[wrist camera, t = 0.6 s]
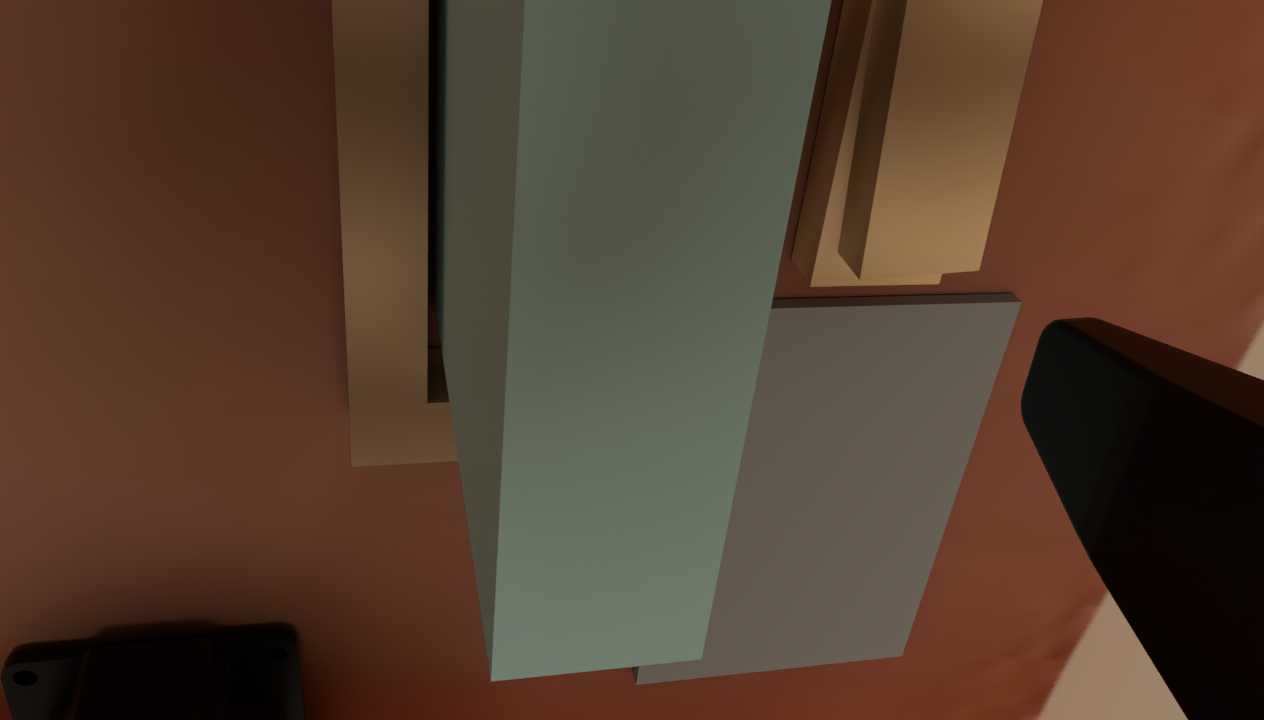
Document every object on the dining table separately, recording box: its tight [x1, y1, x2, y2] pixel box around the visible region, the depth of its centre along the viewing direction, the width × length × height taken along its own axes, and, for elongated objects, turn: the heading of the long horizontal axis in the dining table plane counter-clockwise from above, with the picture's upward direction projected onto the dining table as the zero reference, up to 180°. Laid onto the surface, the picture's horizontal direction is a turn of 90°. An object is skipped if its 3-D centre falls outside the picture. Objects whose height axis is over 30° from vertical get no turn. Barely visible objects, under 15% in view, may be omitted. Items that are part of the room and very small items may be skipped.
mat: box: [633, 293, 1022, 685], centre depth 29 cm, size 12×8×1 cm, turn 174°
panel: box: [435, 0, 832, 681], centre depth 17 cm, size 10×3×10 cm, turn 174°
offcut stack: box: [791, 0, 1043, 287], centre depth 22 cm, size 8×3×2 cm, turn 174°
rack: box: [331, 0, 458, 467], centre depth 20 cm, size 15×7×2 cm, turn 174°
